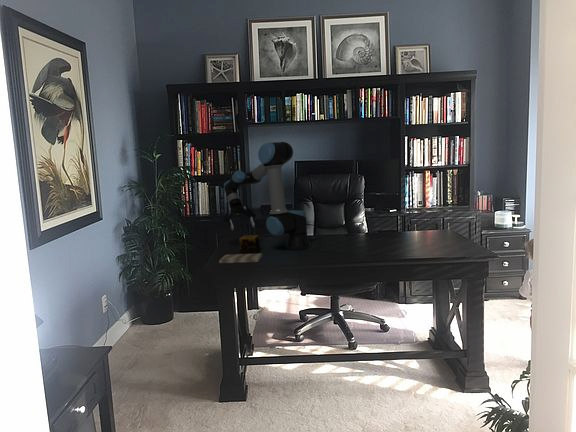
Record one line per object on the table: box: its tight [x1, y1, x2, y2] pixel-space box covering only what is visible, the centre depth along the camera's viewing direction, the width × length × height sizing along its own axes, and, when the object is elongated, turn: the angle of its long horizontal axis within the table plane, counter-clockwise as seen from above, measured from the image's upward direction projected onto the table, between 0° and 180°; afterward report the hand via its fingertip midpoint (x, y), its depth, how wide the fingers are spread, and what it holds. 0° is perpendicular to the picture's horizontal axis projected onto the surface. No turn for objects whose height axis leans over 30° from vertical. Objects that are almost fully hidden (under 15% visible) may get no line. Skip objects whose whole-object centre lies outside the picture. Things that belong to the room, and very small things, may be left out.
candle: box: [238, 234, 261, 254], centre depth 298 cm, size 10×10×10 cm
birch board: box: [218, 252, 263, 264], centre depth 283 cm, size 22×14×2 cm, turn 82°
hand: (243, 227), depth 306 cm, fingers open, 13 cm apart
